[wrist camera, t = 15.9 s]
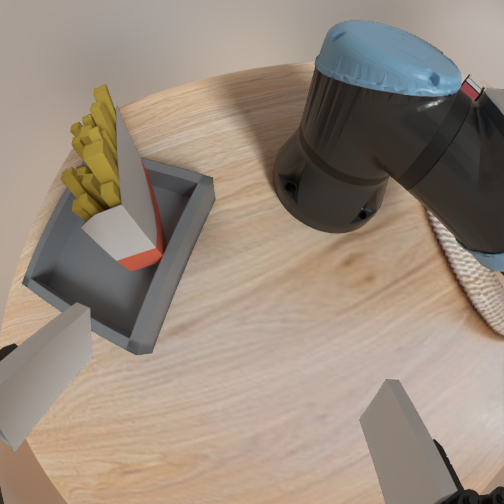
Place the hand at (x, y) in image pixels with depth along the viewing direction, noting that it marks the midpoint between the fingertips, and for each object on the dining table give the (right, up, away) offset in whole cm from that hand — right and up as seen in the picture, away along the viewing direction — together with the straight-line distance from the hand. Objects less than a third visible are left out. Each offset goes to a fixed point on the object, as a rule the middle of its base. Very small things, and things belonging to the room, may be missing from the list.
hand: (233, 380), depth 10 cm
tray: (-16, +6, +21) cm, 27 cm away
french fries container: (-12, +8, +21) cm, 25 cm away
